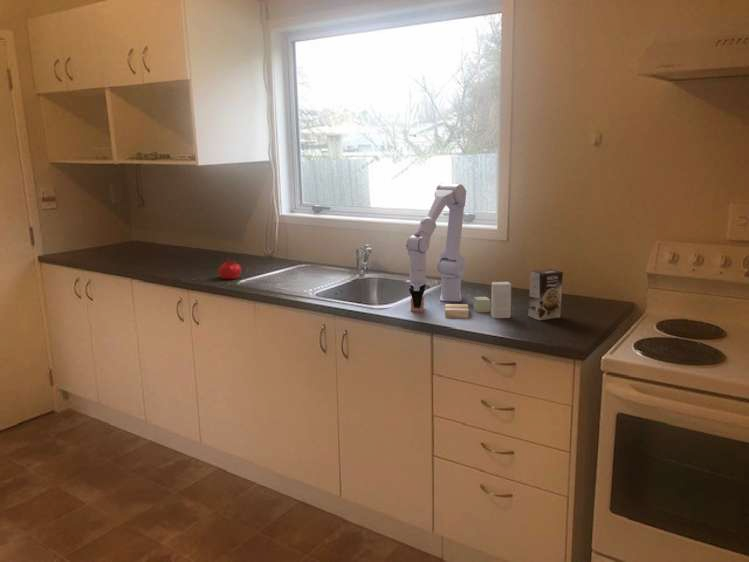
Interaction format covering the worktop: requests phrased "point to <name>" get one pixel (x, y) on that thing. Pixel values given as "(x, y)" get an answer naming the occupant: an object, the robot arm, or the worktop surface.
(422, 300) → the terracotta cube
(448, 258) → the robot arm
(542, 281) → the coffee box
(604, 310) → the worktop surface
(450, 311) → the maple slab
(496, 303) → the skincare box
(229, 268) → the pomegranate
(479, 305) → the sage cube
